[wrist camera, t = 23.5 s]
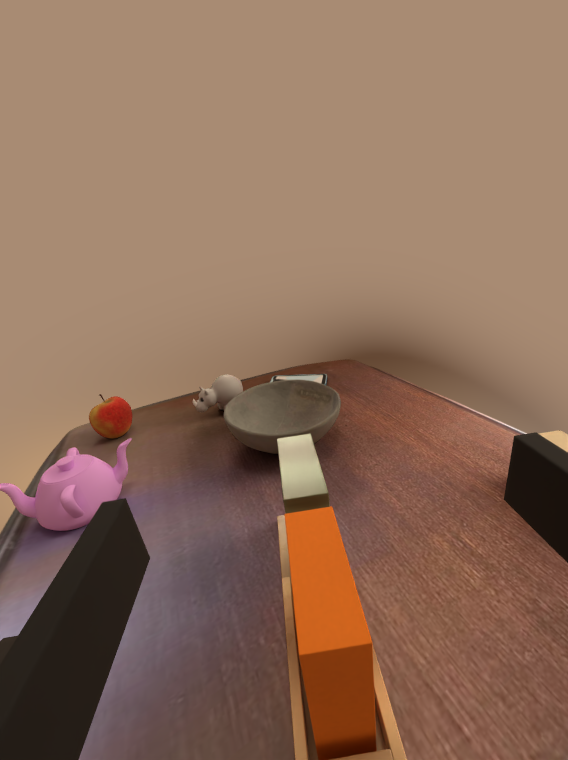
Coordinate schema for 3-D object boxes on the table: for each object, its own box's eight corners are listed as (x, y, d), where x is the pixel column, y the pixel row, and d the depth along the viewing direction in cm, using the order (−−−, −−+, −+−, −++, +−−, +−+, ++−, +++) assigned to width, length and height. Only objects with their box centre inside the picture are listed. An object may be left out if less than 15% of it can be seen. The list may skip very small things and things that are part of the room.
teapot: (16, 534, 46) (-13, 485, 43) (96, 472, 58) (78, 431, 55) (75, 549, 42) (48, 497, 38) (147, 480, 54) (131, 435, 50)
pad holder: (410, 788, 20) (416, 673, 16) (299, 808, 20) (270, 698, 15) (331, 512, 42) (323, 429, 37) (277, 520, 42) (263, 438, 37)
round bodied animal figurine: (192, 416, 74) (183, 383, 71) (238, 399, 80) (231, 367, 77) (203, 427, 68) (194, 392, 65) (251, 408, 74) (245, 374, 71)
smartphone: (325, 384, 79) (267, 386, 82) (325, 388, 79) (268, 389, 82) (327, 373, 86) (273, 375, 89) (327, 377, 86) (273, 378, 89)
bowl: (283, 404, 74) (279, 372, 71) (365, 427, 60) (363, 388, 57) (210, 450, 60) (200, 412, 57) (294, 493, 46) (287, 447, 43)
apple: (119, 446, 66) (103, 403, 62) (89, 444, 68) (72, 402, 64) (145, 426, 73) (132, 386, 69) (117, 424, 75) (103, 386, 71)
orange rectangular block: (377, 751, 21) (372, 643, 17) (318, 761, 21) (298, 655, 17) (340, 601, 31) (332, 505, 26) (300, 608, 31) (284, 513, 26)
